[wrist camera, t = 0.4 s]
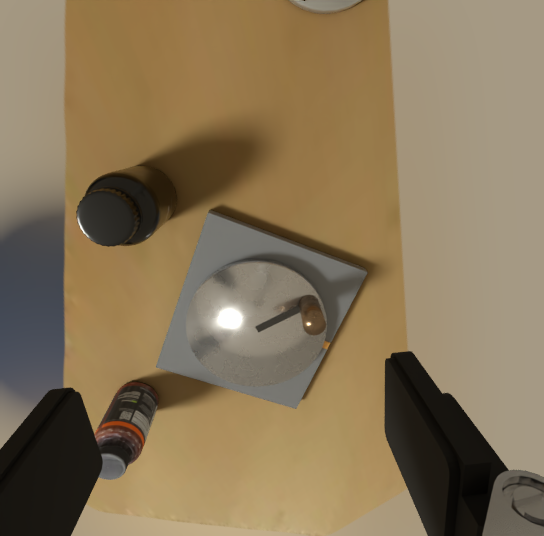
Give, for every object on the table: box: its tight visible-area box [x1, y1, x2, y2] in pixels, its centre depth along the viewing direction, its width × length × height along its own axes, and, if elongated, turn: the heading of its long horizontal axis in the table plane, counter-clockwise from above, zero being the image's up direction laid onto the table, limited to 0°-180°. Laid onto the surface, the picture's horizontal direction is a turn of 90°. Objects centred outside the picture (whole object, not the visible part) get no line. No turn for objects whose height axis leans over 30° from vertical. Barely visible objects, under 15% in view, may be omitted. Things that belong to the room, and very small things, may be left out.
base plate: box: [156, 210, 368, 409], centre depth 46 cm, size 22×20×2 cm
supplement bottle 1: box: [76, 166, 177, 247], centre depth 35 cm, size 7×7×12 cm
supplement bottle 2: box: [94, 382, 158, 480], centre depth 46 cm, size 6×6×11 cm
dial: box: [186, 259, 327, 387], centre depth 42 cm, size 17×17×6 cm
